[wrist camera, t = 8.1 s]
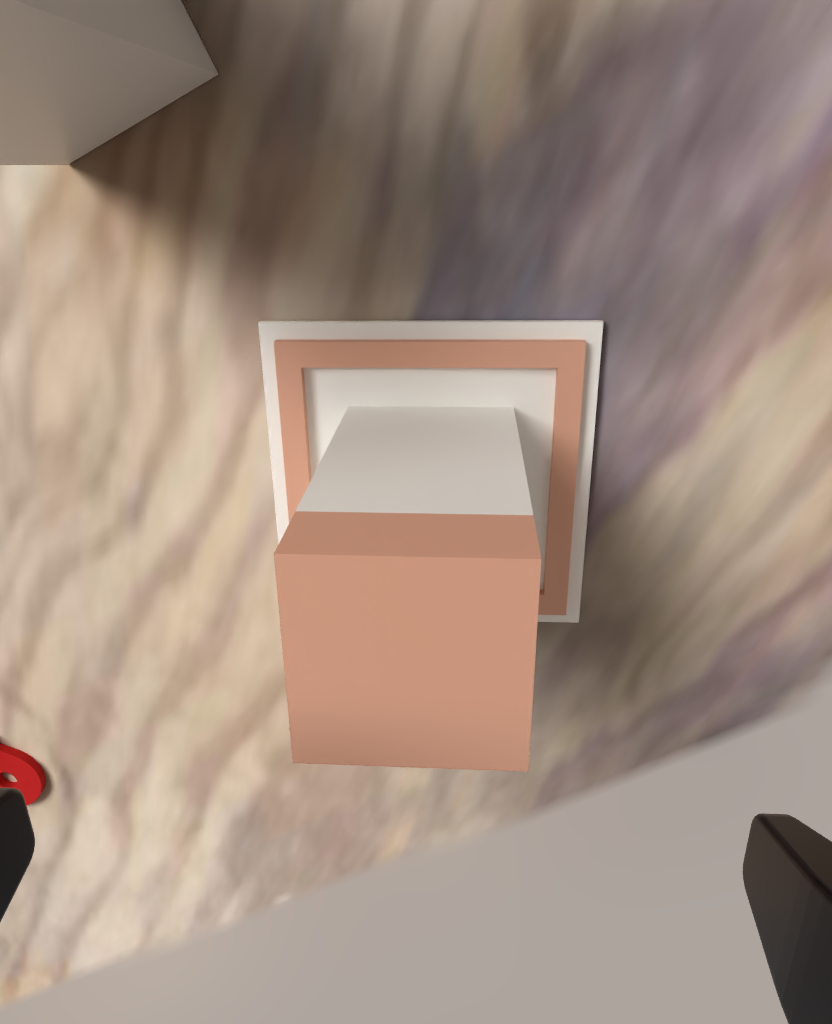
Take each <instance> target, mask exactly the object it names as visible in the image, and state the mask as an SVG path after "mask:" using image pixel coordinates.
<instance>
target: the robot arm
mask: <svg viewBox="0 0 832 1024" xmlns="http://www.w3.org/2000/svg"><path fill="white" fill-rule="evenodd" d="M34 846H35V837H34V832H33V828H32V825H31V821H30V817H29V814H28V810H27V806H26V803H25V799H24V796H23V794H22V793H21V791H20V790H18V789H16V788H0V922H1V920H2V918H3V916H4V914H5V912H6V910H7V908H8V906H9V904H10V902H11V900H12V898H13V896H14V894H15V892H16V890H17V888H18V886H19V884H20V882H21V880H22V878H23V876H24V874H25V872H26V869H27V867H28V865H29V863H30V861H31V859H32V856H33V852H34ZM743 879H744V885H745V889H746V893H747V896H748V900H749V903H750V906H751V909H752V913H753V915H754V919H755V922H756V926H757V929H758V932H759V936H760V939H761V942H762V945H763V949H764V952H765V955H766V958H767V962H768V965H769V968H770V972H771V975H772V978H773V982H774V985H775V987H776V991H777V994H778V997H779V1000H780V1003H781V1006H782V1008H783V1011H784V1013H785V1016H786V1018H787V1021H788V1023H789V1024H832V842H831V841H829V840H828V839H826V838H825V837H823V836H822V835H820V834H819V833H817V832H816V831H814V830H813V829H811V828H810V827H808V826H806V825H805V824H803V823H802V822H800V821H799V820H797V819H796V818H794V817H792V816H790V815H786V814H785V815H784V814H758V815H757V816H755V817H754V819H753V821H752V824H751V829H750V833H749V838H748V843H747V848H746V853H745V858H744V863H743Z"/></svg>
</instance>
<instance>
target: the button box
mask: <svg viewBox="0 0 832 1024" xmlns="http://www.w3.org/2000/svg"><path fill="white" fill-rule="evenodd" d="M217 75H218V72H217V70H216V68H215V66H214V64H213V62H212V60H211V58H210V56H209V54H208V52H207V51H206V49H205V47H204V45H203V43H202V41H201V39H200V37H199V35H198V33H197V31H196V29H195V27H194V25H193V23H192V21H191V19H190V17H189V15H188V13H187V11H186V9H185V7H184V5H183V3H182V1H181V0H0V165H68V164H70V163H72V162H73V161H75V160H77V159H78V158H80V157H82V156H83V155H85V154H87V153H88V152H90V151H92V150H93V149H95V148H97V147H98V146H100V145H102V144H103V143H105V142H107V141H108V140H110V139H112V138H113V137H115V136H117V135H118V134H120V133H122V132H123V131H125V130H127V129H128V128H130V127H132V126H133V125H135V124H137V123H138V122H140V121H142V120H143V119H145V118H147V117H148V116H150V115H152V114H153V113H155V112H157V111H158V110H160V109H162V108H163V107H165V106H167V105H168V104H170V103H172V102H173V101H175V100H177V99H178V98H180V97H182V96H183V95H185V94H187V93H188V92H190V91H192V90H193V89H195V88H197V87H198V86H200V85H202V84H203V83H205V82H207V81H208V80H210V79H212V78H213V77H215V76H217Z"/></svg>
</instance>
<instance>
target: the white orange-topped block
mask: <svg viewBox="0 0 832 1024" xmlns="http://www.w3.org/2000/svg"><path fill="white" fill-rule="evenodd" d="M274 560H275V571H276V582H277V593H278V604H279V615H280V626H281V637H282V648H283V659H284V670H285V681H286V692H287V703H288V714H289V725H290V736H291V746H292V757H293V763H308V764H336V765H363V766H391V767H418V768H446V769H474V770H501V771H528V769H529V753H530V737H531V721H532V704H533V688H534V672H535V656H536V639H537V623H538V607H539V590H540V574H541V554H540V549H539V543H538V538H537V532H536V527H535V521H534V516H533V510H532V505H531V499H530V494H529V488H528V483H527V477H526V472H525V467H524V461H523V456H522V450H521V445H520V439H519V434H518V428H517V423H516V417H515V412H514V407H429V406H348V408H347V410H346V412H345V414H344V416H343V418H342V420H341V422H340V424H339V425H338V427H337V429H336V431H335V433H334V435H333V437H332V439H331V441H330V443H329V445H328V447H327V449H326V451H325V453H324V455H323V457H322V459H321V461H320V463H319V465H318V467H317V469H316V471H315V473H314V475H313V477H312V479H311V481H310V483H309V485H308V487H307V489H306V491H305V493H304V495H303V497H302V499H301V501H300V503H299V505H298V507H297V509H296V511H295V513H294V515H293V517H292V519H291V521H290V523H289V525H288V527H287V529H286V531H285V533H284V535H283V537H282V539H281V541H280V543H279V545H278V547H277V549H276V551H275V553H274Z"/></svg>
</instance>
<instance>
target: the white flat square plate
mask: <svg viewBox="0 0 832 1024" xmlns="http://www.w3.org/2000/svg"><path fill="white" fill-rule="evenodd" d="M258 325H259V336H260V347H261V358H262V369H263V380H264V390H265V401H266V412H267V423H268V434H269V445H270V456H271V467H272V477H273V488H274V499H275V510H276V521H277V532H278V543H280V541H281V539H282V537H283V535H284V533H285V531H286V529H287V527H288V525H289V523H290V521H291V519H292V517H293V515H294V513H295V511H296V509H297V507H298V505H299V503H300V501H301V499H302V497H303V495H304V493H305V491H306V489H307V487H308V485H309V483H310V481H311V479H312V477H313V475H314V473H315V471H316V469H317V467H318V465H319V463H320V461H321V459H322V457H323V455H324V453H325V451H326V449H327V447H328V445H329V443H330V441H331V439H332V437H333V435H334V433H335V431H336V429H337V427H338V425H339V424H340V422H341V420H342V418H343V416H344V414H345V412H346V410H347V408H348V406H429V407H514V412H515V417H516V423H517V428H518V434H519V439H520V445H521V450H522V456H523V461H524V467H525V472H526V477H527V483H528V488H529V494H530V499H531V505H532V510H533V516H534V521H535V527H536V532H537V538H538V543H539V549H540V554H541V574H540V590H539V607H538V622H570V623H579V614H580V602H581V589H582V577H583V565H584V553H585V541H586V528H587V516H588V504H589V492H590V480H591V467H592V455H593V443H594V431H595V418H596V406H597V394H598V382H599V370H600V357H601V345H602V333H603V321H602V320H434V321H259V322H258Z"/></svg>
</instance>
